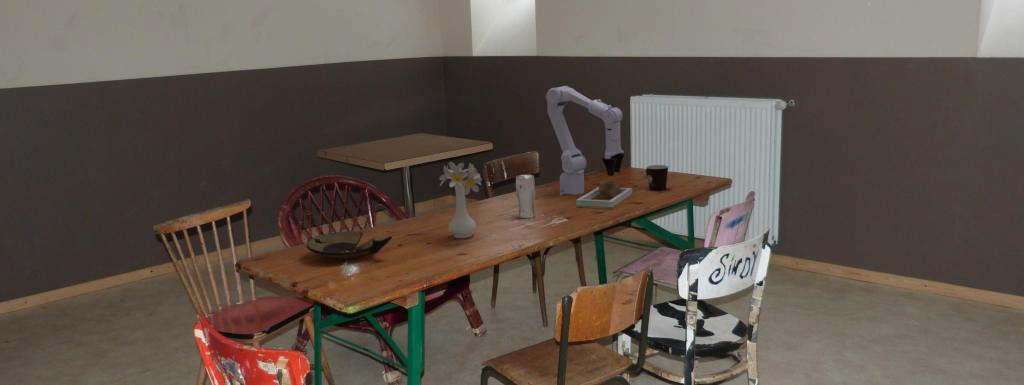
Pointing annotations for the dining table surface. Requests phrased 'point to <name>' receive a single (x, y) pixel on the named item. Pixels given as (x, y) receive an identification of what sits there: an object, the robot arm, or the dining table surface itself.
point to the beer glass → (525, 195)
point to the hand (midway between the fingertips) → (613, 173)
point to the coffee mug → (657, 177)
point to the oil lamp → (345, 245)
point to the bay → (587, 200)
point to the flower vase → (461, 197)
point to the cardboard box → (609, 189)
